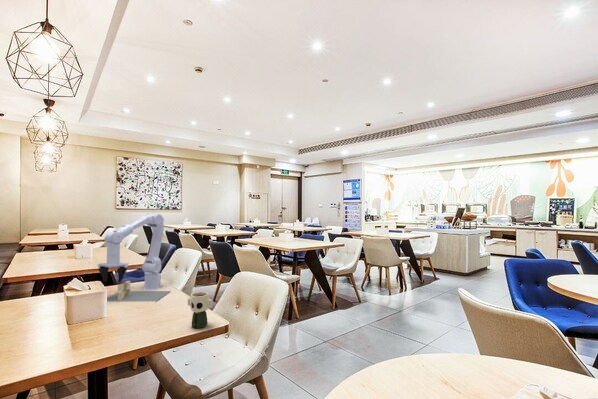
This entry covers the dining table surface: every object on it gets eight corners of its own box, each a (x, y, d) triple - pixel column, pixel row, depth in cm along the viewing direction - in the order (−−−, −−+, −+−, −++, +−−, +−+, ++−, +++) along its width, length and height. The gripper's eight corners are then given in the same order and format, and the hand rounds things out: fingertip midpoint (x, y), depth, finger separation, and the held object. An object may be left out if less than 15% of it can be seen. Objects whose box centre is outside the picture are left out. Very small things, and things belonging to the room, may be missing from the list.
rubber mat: (120, 292, 168) (120, 291, 168) (170, 291, 168) (170, 291, 168) (100, 302, 150) (100, 301, 150) (156, 302, 150) (156, 301, 150)
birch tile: (126, 294, 161) (127, 280, 161) (130, 294, 161) (130, 280, 161) (117, 299, 152) (117, 285, 152) (120, 299, 152) (120, 285, 152)
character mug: (182, 328, 119) (182, 295, 119) (192, 321, 126) (192, 290, 126) (207, 330, 116) (207, 297, 117) (215, 323, 123) (216, 292, 124)
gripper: (94, 256, 150) (93, 283, 150) (123, 256, 151) (122, 283, 151) (102, 254, 157) (102, 279, 157) (130, 254, 158) (130, 279, 158)
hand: (112, 281), depth 154 cm, fingers open, 7 cm apart
